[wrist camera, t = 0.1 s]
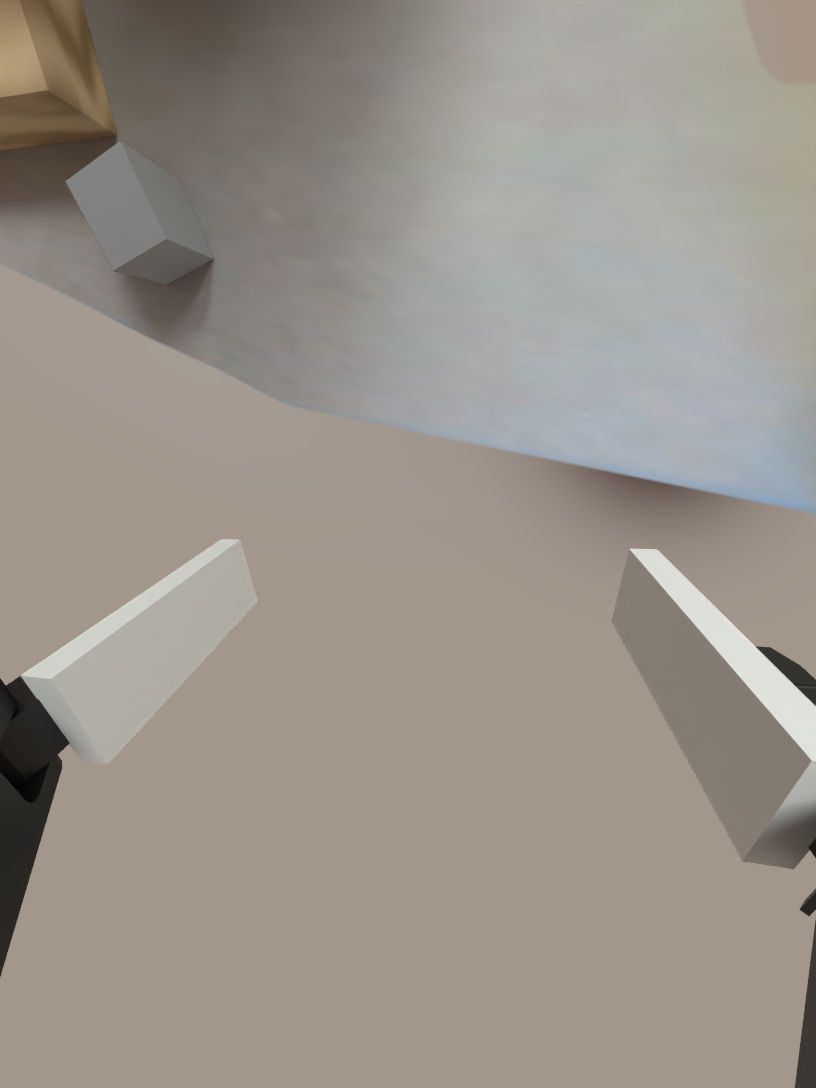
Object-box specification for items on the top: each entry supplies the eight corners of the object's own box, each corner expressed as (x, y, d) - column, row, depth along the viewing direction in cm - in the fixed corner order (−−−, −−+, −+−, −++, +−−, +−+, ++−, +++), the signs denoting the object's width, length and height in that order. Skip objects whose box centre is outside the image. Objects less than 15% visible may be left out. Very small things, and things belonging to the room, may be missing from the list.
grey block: (130, 211, 33) (65, 181, 28) (179, 179, 31) (120, 140, 26) (166, 285, 35) (113, 270, 30) (214, 259, 34) (166, 238, 28)
